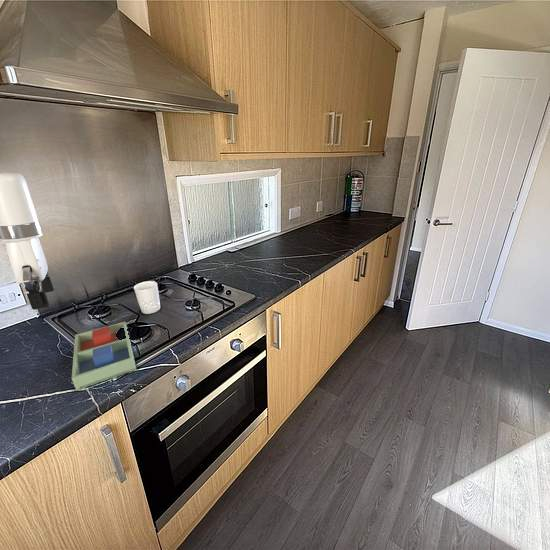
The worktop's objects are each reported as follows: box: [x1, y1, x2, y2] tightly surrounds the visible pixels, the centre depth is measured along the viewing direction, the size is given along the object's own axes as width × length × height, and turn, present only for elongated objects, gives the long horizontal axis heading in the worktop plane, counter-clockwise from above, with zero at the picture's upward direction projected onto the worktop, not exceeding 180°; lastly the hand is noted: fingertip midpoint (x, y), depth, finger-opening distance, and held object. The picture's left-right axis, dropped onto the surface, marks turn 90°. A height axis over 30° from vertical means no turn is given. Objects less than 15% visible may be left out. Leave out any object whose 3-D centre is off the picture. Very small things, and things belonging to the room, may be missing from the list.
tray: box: [71, 321, 137, 391], centre depth 84 cm, size 14×22×4 cm, turn 30°
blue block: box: [93, 344, 115, 369], centre depth 80 cm, size 4×4×4 cm
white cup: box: [133, 280, 161, 315], centre depth 108 cm, size 8×8×10 cm
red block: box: [92, 325, 113, 347], centre depth 88 cm, size 4×4×4 cm
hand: (44, 299), depth 72 cm, fingers open, 9 cm apart
